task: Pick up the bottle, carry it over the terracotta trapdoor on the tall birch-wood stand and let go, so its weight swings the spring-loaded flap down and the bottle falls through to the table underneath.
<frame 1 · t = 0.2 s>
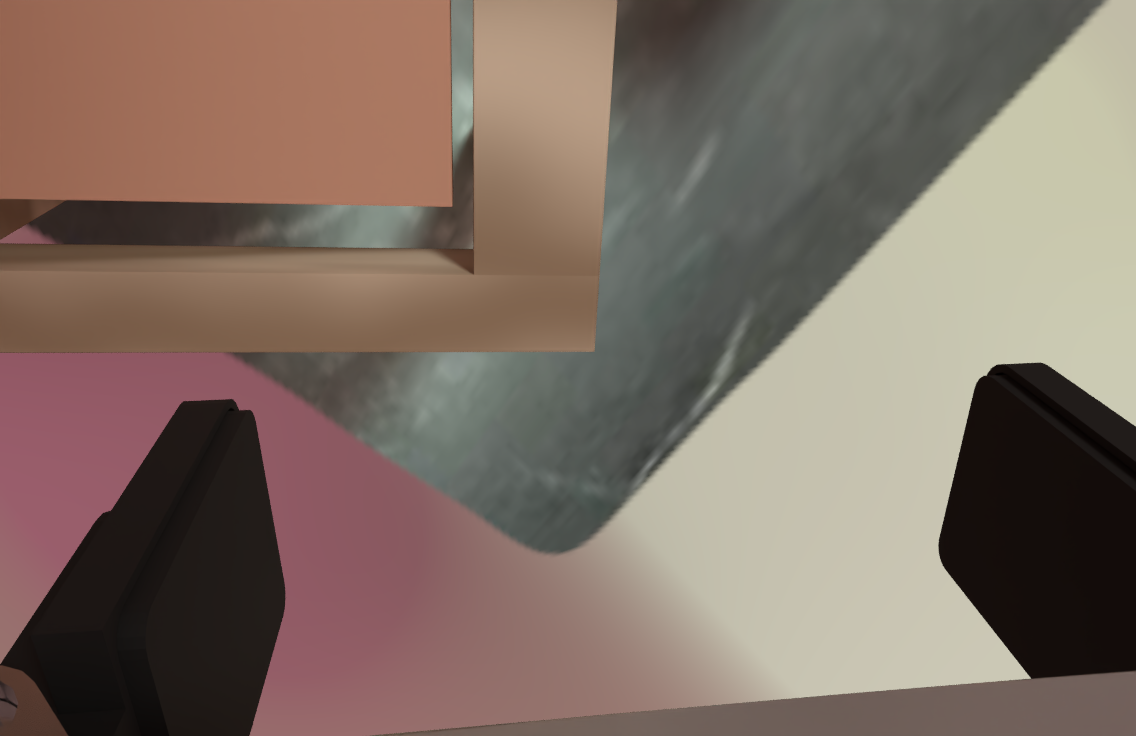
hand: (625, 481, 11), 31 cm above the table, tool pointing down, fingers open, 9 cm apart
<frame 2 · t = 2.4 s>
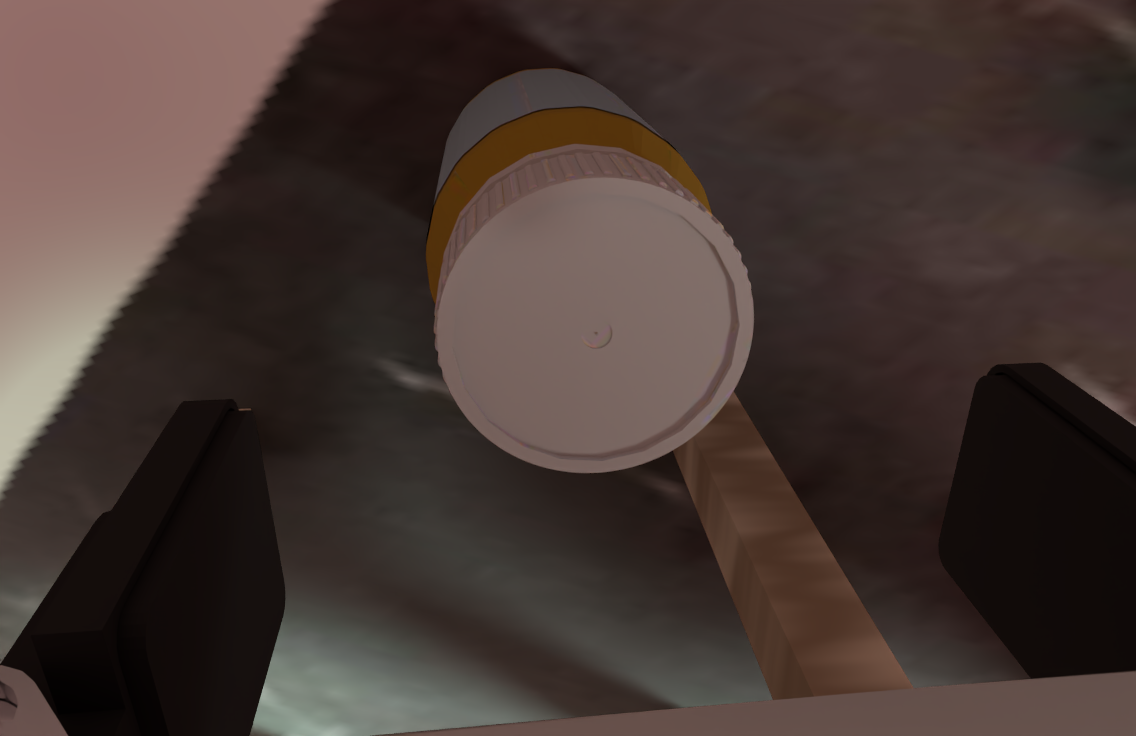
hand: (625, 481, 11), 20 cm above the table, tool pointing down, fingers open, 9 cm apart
trapdoor frame: (480, 605, 37), on the table
bottle: (543, 170, 30), on the table
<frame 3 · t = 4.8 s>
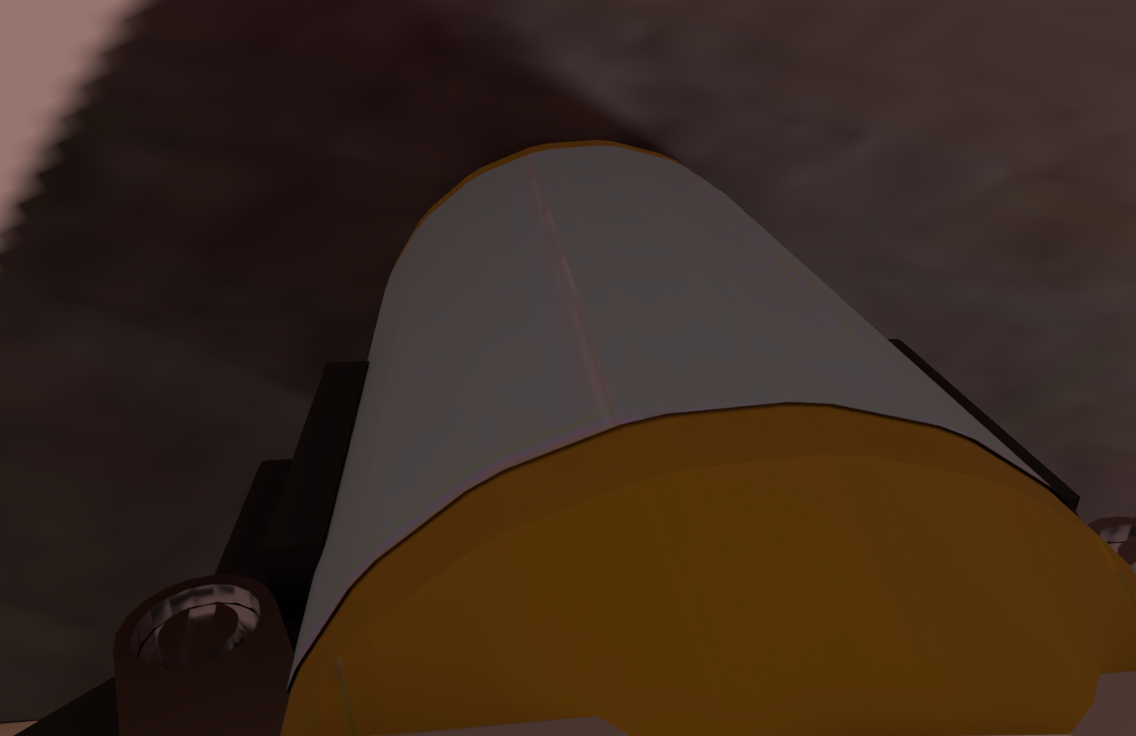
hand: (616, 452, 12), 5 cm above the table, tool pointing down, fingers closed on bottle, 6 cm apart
bottle: (575, 320, 16), on the table, touching gripper
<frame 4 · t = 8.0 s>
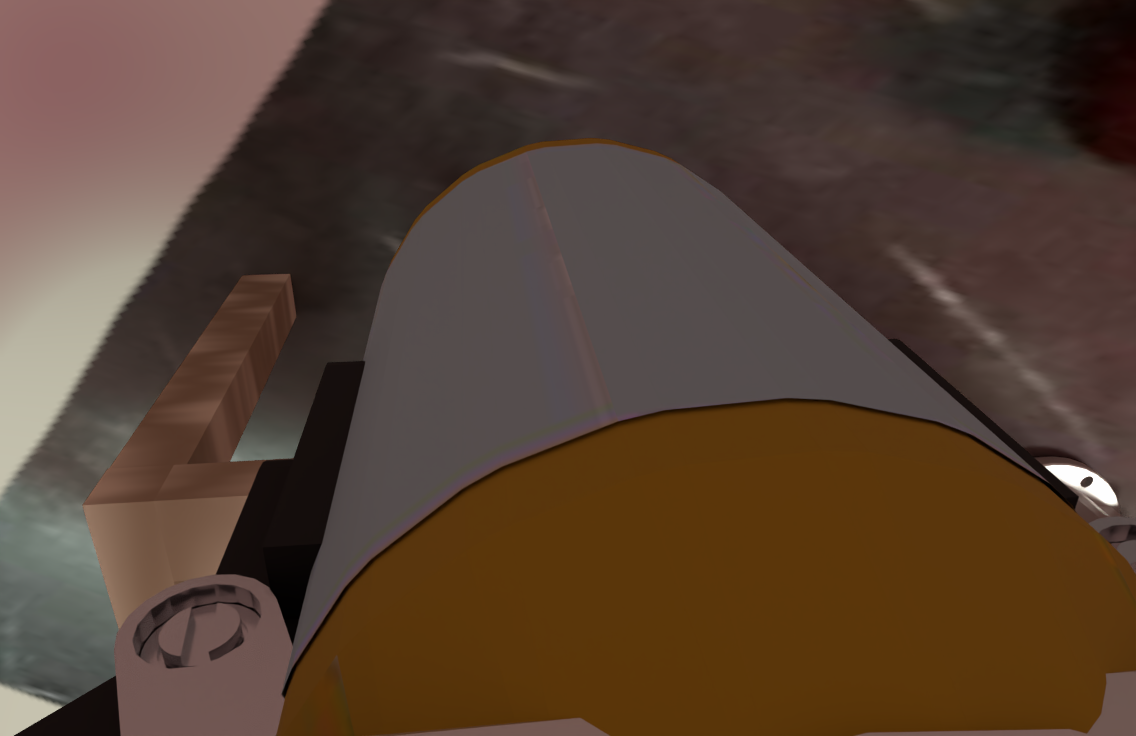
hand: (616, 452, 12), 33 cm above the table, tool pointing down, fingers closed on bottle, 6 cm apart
trapdoor frame: (461, 435, 49), on the table
bottle: (571, 319, 16), point 29 cm above the table, touching gripper
when the fingers open (28 cm above the table, at t = 11.2 s): bottle drops 5 cm, resting on trapdoor.
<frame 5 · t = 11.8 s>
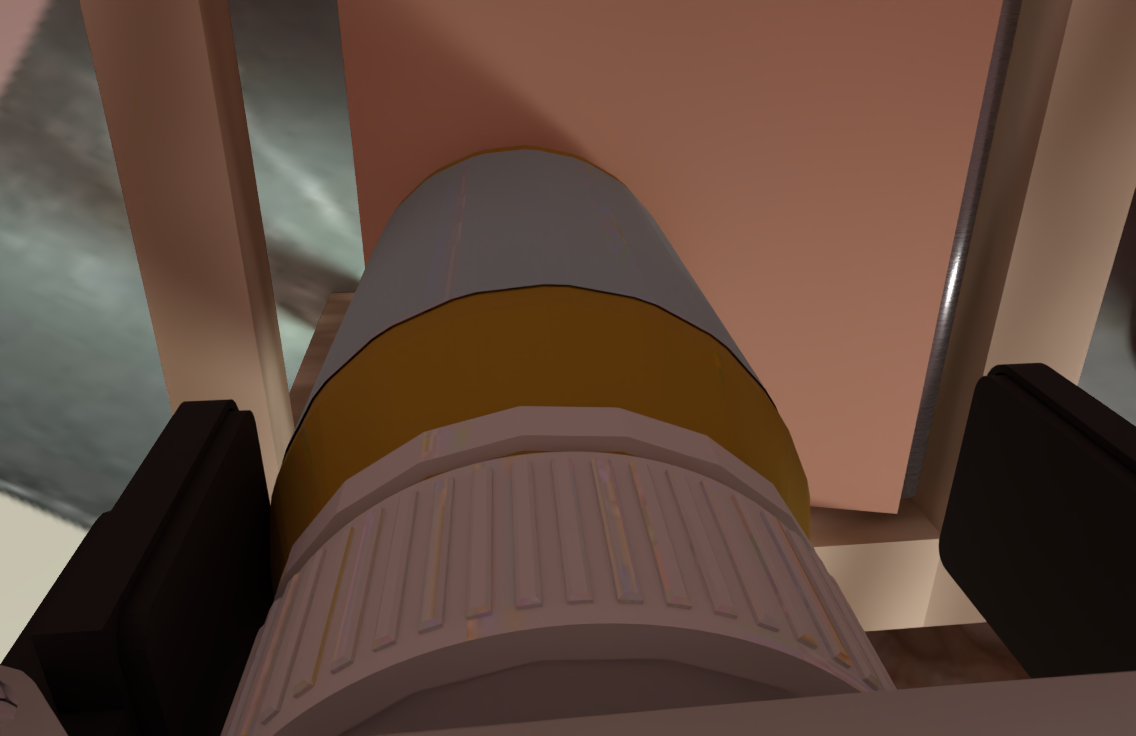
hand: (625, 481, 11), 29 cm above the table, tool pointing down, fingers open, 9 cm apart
trapdoor frame: (560, 116, 37), on the table
bottle: (521, 285, 21), point 19 cm above the table, touching gripper, trapdoor
tree stump: (775, 484, 47), on the table
trapdoor: (653, 238, 21), point 18 cm above the table, hinge at -14.8°, touching bottle
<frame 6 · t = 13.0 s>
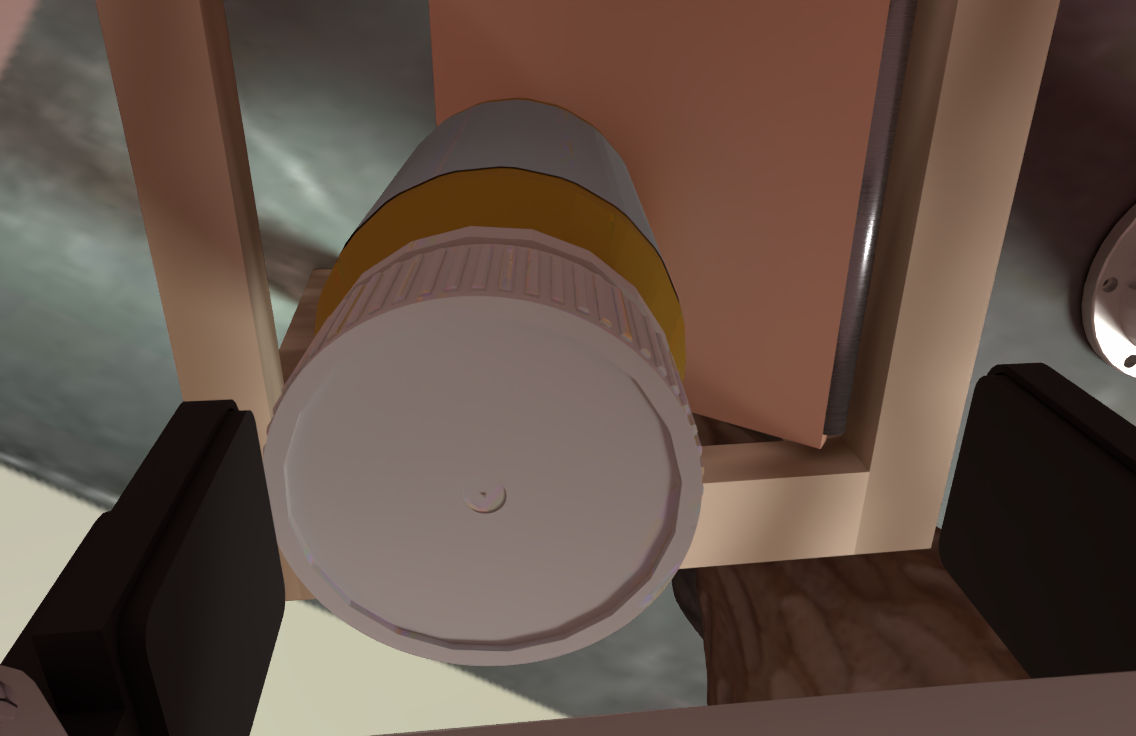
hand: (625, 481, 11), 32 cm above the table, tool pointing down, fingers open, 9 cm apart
trapdoor frame: (529, 100, 39), on the table
bottle: (518, 214, 25), point 16 cm above the table, touching trapdoor
tree stump: (739, 451, 50), on the table
trapdoor: (634, 178, 25), point 16 cm above the table, hinge at -39.8°, touching bottle
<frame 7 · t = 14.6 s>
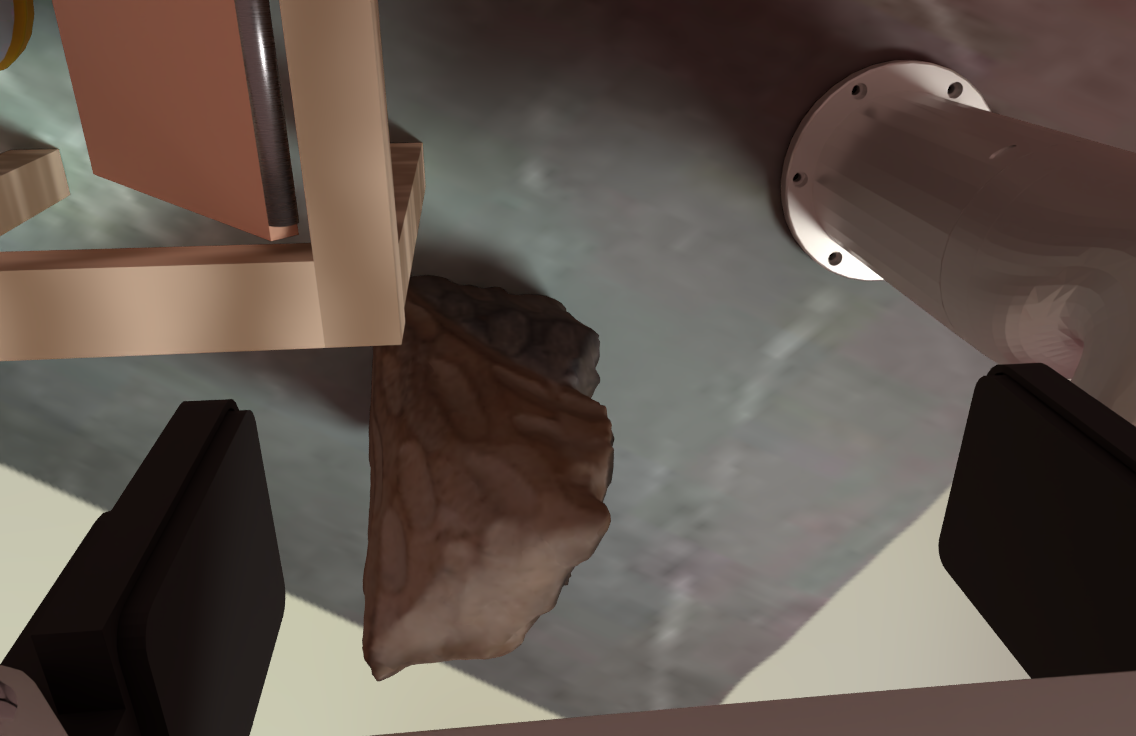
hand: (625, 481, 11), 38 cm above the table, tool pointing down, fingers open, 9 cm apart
tree stump: (462, 345, 52), on the table
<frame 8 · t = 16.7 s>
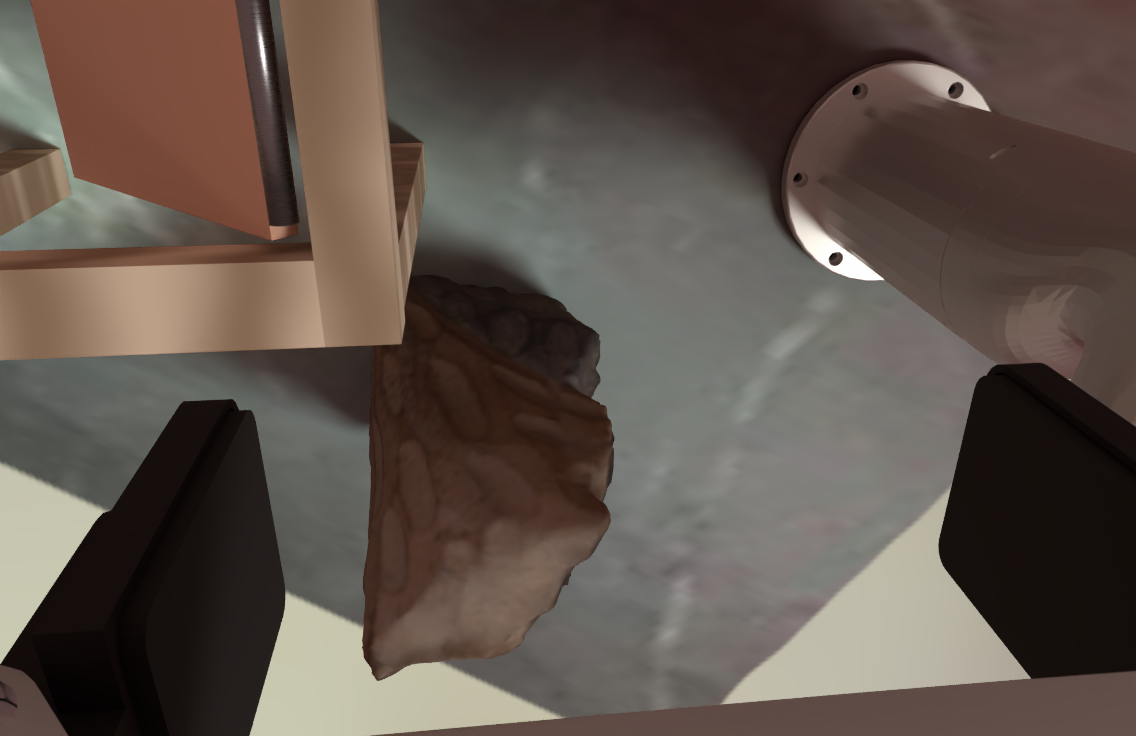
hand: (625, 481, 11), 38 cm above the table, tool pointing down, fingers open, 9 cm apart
tree stump: (463, 344, 52), on the table
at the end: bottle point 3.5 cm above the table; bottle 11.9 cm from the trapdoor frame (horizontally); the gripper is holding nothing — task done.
